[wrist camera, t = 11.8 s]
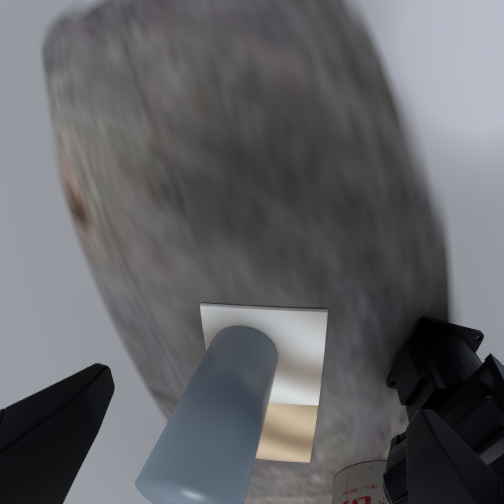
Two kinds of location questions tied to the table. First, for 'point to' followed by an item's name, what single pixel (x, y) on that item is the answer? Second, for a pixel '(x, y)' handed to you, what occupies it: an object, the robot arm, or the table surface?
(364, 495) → the thermos bottle
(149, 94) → the table surface
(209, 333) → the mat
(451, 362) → the robot arm
